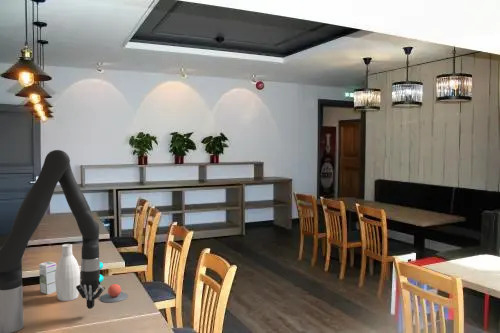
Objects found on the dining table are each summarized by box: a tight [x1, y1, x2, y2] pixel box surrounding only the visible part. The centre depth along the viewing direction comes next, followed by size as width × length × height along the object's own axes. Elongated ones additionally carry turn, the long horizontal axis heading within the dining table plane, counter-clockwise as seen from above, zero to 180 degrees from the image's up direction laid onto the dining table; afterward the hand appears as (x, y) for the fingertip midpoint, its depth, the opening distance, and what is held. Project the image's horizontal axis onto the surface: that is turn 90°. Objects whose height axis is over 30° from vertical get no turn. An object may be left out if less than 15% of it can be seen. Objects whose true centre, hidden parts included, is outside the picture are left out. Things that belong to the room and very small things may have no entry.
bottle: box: [55, 243, 81, 302], centre depth 201 cm, size 11×11×25 cm
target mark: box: [98, 291, 129, 304], centre depth 203 cm, size 13×13×1 cm
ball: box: [107, 283, 122, 297], centre depth 204 cm, size 6×6×6 cm
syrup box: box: [38, 260, 57, 295], centre depth 209 cm, size 6×6×14 cm
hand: (90, 307), depth 182 cm, fingers closed
